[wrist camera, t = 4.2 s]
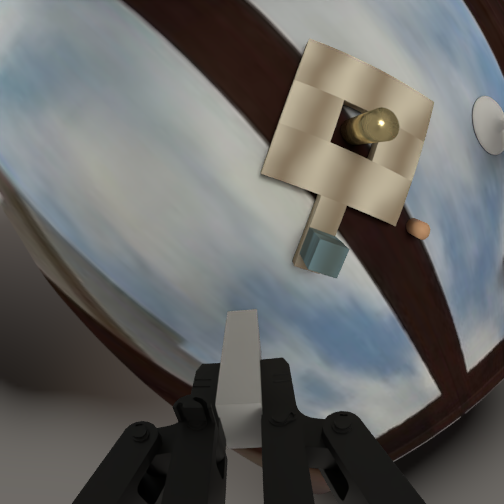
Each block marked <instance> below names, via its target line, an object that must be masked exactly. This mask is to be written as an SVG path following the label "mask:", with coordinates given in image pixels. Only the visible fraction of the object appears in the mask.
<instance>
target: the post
mask: <svg viewBox="0 0 504 504" xmlns="http://www.w3.org/2000/svg"><path fill="white" fill-rule="evenodd" d="M398 132H399V121H398V119H397V117H396V115H395V114H394V113H393V112H392V111H391V110H389V109H387V108H383V107H380V108H376V109H373V110H371V111H368V112H365V113H363V114H360V115H358V116H355V117H352V118H350V119H347V120H346V121H344V122H343V124H342V125H341V136H342V138H343V139H344V140H345V141H346V142H347V143H349V144H351V145H359V144H368V143H377V142H386V141H391V140H393V139H395V138H396V136H397V135H398Z"/></svg>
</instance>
